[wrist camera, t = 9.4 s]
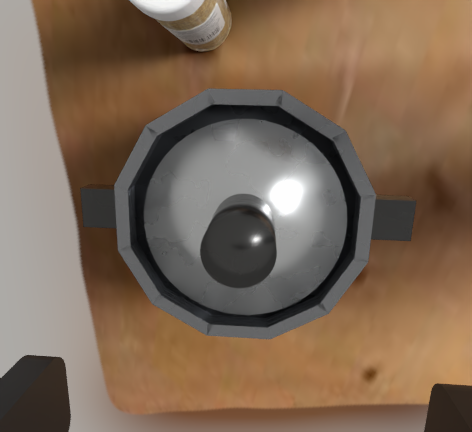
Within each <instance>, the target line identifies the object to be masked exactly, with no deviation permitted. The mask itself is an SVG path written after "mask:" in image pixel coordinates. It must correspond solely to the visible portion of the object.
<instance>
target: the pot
mask: <svg viewBox="0 0 472 432" xmlns="http://www.w3.org/2000/svg"><path fill="white" fill-rule="evenodd" d="M232 119H258V120H265V121H269V122H272V123H276V124H279V125H282V126H284V127H286V128H289V129H291V130H293V131H294V132H296V133H298V134H299V135H301V136H303V137H304V138H305V139H307V140H308V141H309V142H310V143H312V144H313V145H314V146H315V147H316V148H317V149H318V150H319V151H320V152H321V153H322V154H323V155H324V156H325V157H326V159H327V160H328V162H329V163H330V165H331V166H332V167H333V169H334V171H335V173H336V175H337V177H338V179H339V181H340V183H341V186H342V189H343V192H344V196H345V201H346V206H347V228H346V235H345V240H344V244H343V247H342V250H341V253H340V255H339V258H338V260H337V262H336V263H335V265H334V267H333V269H332V270H331V272H330V273H329V274H328V276H327V277H326V279H325V280H324V281H323V282H322V283H321V284H320V285H319V286H318V287H317V288H316V289H315V290H314V291H312V292H311V293H310V294H309V295H307V296H306V297H304V298H303V299H301V300H300V301H298V302H296V303H294V304H292V305H290V306H288V307H286V308H283V309H280V310H277V311H274V312H269V313H264V314H254V315H239V314H231V313H224V312H221V311H217V310H214V309H211V308H208V307H206V306H204V305H201V304H199V303H197V302H196V301H194V300H192V299H190V298H189V297H188V296H186V295H185V294H183V293H182V292H181V291H179V290H178V289H177V288H176V287H175V286H174V285H173V284H172V283H171V282H170V281H169V280H168V278H167V277H166V276H165V275H164V274H163V272H162V271H161V269H160V268H159V266H158V265H157V263H156V261H155V259H154V257H153V255H152V253H151V250H150V247H149V244H148V241H147V238H146V232H145V227H144V206H145V199H146V194H147V189H148V187H149V184H150V181H151V178H152V176H153V174H154V172H155V170H156V169H157V167H158V165H159V164H160V162H161V161H162V159H163V158H164V157H165V155H166V154H167V153H168V152H169V151H170V150H171V149H172V148H173V147H174V146H175V145H176V144H177V143H178V142H180V141H181V140H182V139H184V138H185V137H186V136H188V135H190V134H191V133H193V132H195V131H196V130H198V129H201V128H203V127H205V126H208V125H210V124H214V123H217V122H221V121H225V120H232ZM80 189H81V201H82V213H83V226H84V227H98V228H117V243H118V251H119V253H120V254H121V256H122V258H123V259H124V261H125V262H126V264H127V265H128V267H129V268H130V270H131V272H132V273H133V275H134V276H135V278H136V279H137V281H138V283H139V284H140V286H141V287H142V289H143V290H144V292H145V293H146V295H147V297H148V298H149V300H150V301H151V303H152V304H153V305H155V306H157V307H158V308H160V309H162V310H164V311H165V312H167V313H169V314H171V315H172V316H174V317H176V318H177V319H179V320H181V321H183V322H184V323H186V324H188V325H190V326H191V327H193V328H195V329H197V330H198V331H200V332H202V333H204V334H205V335H208V336H224V337H241V338H258V339H272V338H274V337H276V336H279V335H281V334H283V333H285V332H288V331H290V330H292V329H295V328H297V327H299V326H301V325H304V324H306V323H308V322H311V321H313V320H315V319H317V318H320V317H322V316H324V315H327V314H328V313H329V312H330V311H331V310H332V308H333V307H334V306H335V305H336V303H337V302H338V301H339V299H340V298H341V297H342V295H343V294H344V293H345V292H346V290H347V289H348V288H349V286H350V285H351V284H352V282H353V281H354V280H355V279H356V277H357V276H358V275H359V273H360V272H361V271H362V269H363V268H364V267H365V266H366V264H367V263H368V259H369V251H370V242H371V239H376V240H399V241H411V235H412V228H413V221H414V214H415V207H416V200H414V199H413V198H411V197H409V196H393V195H376V194H375V192H374V190H373V187H372V185H371V183H370V181H369V179H368V177H367V175H366V173H365V171H364V168H363V166H362V164H361V162H360V160H359V158H358V156H357V154H356V151H355V149H354V147H353V145H352V143H351V141H350V139H349V137H348V135H347V132H346V131H345V130H344V129H342V128H341V127H339V126H338V125H336V124H335V123H333V122H332V121H330V120H328V119H327V118H325V117H324V116H322V115H321V114H319V113H318V112H316V111H314V110H313V109H311V108H310V107H308V106H307V105H305V104H304V103H302V102H300V101H299V100H297V99H296V98H294V97H293V96H291V95H290V94H288V93H286V92H285V91H283V90H247V89H207V90H205V91H203V92H201V93H200V94H198V95H196V96H195V97H193V98H191V99H190V100H188V101H186V102H184V103H183V104H181V105H179V106H178V107H176V108H174V109H173V110H171V111H169V112H167V113H166V114H164V115H162V116H161V117H159V118H157V119H156V120H154V121H152V122H150V123H149V124H147V125H146V126H145V128H144V130H143V132H142V133H141V135H140V137H139V139H138V141H137V143H136V145H135V147H134V149H133V151H132V152H131V154H130V156H129V158H128V160H127V162H126V164H125V166H124V168H123V170H122V172H121V173H120V175H119V177H118V179H117V181H116V183H115V185H87V186H85V187H83V188H80Z"/></svg>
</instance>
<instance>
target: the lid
mask: <svg viewBox="0 0 472 432" xmlns="http://www.w3.org/2000/svg"><path fill="white" fill-rule="evenodd" d="M144 227H145V232H146V238H147V241H148V244H149V247H150V250H151V253H152V255H153V257H154V259H155V261H156V263H157V265H158V266H159V268H160V269H161V271H162V272H163V274H164V275H165V276H166V277H167V278H168V280H169V281H170V282H171V283H172V284H173V285H174V286H175V287H176V288H177V289H178V290H179V291H181V292H182V293H183V294H185V295H186V296H188V297H189V298H190V299H192V300H194V301H196V302H197V303H199V304H201V305H204V306H206V307H208V308H211V309H214V310H217V311H221V312H224V313H231V314H239V315H254V314H264V313H269V312H274V311H277V310H280V309H283V308H286V307H288V306H290V305H292V304H294V303H296V302H298V301H300V300H301V299H303V298H304V297H306V296H307V295H309V294H310V293H311V292H312V291H314V290H315V289H316V288H317V287H318V286H319V285H320V284H321V283H322V282H323V281H324V280H325V279H326V277H327V276H328V274H329V273H330V272H331V270H332V269H333V267H334V265H335V263H336V262H337V260H338V258H339V255H340V253H341V250H342V247H343V244H344V240H345V235H346V228H347V206H346V201H345V196H344V192H343V189H342V186H341V183H340V181H339V179H338V177H337V175H336V173H335V171H334V169H333V167H332V166H331V165H330V163H329V162H328V160H327V159H326V157H325V156H324V155H323V154H322V153H321V152H320V151H319V150H318V149H317V148H316V147H315V146H314V145H313V144H312V143H310V142H309V141H308V140H307V139H305V138H304V137H303V136H301V135H299V134H298V133H296V132H294V131H293V130H291V129H289V128H286V127H284V126H282V125H279V124H276V123H272V122H269V121H265V120H258V119H232V120H225V121H221V122H217V123H214V124H210V125H208V126H205V127H203V128H201V129H198V130H196V131H195V132H193V133H191V134H190V135H188V136H186V137H185V138H184V139H182V140H181V141H180V142H178V143H177V144H176V145H175V146H174V147H173V148H172V149H171V150H170V151H169V152H168V153H167V154H166V155H165V157H164V158H163V159H162V161H161V162H160V164H159V165H158V167H157V169H156V170H155V172H154V174H153V176H152V178H151V181H150V184H149V187H148V189H147V194H146V199H145V206H144Z"/></svg>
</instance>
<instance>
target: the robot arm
mask: <svg viewBox="0 0 472 432" xmlns="http://www.w3.org/2000/svg"><path fill="white" fill-rule="evenodd" d="M70 418H71V414H70V404H69V395H68V386H67V376H66V367H65V363H64V360H63V359H62V358H60V357H49V356H48V357H47V356H34V355H26V356H24V357H22V358H21V359H20V360H19V361H18V362H17V363H16V364H15V365H14V366H13V367H12V368H11V369H10V370H9V371H8V372H7V373H6V374H5V375H4V376H3V377H2V378H0V432H68V430H69V426H70ZM424 432H472V386H467V385H452V384H435V385H434V386H433V388H432V391H431V396H430V401H429V408H428V413H427V419H426V425H425V430H424Z"/></svg>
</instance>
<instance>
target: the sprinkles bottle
mask: <svg viewBox="0 0 472 432" xmlns="http://www.w3.org/2000/svg"><path fill="white" fill-rule="evenodd" d="M129 1H130V2H131V3H133V4H134V5H135V6H136V7H137V8H138V9H139V10H141V11H142V12H143V13H145V14H146V15H148V16H150V17H152V18H154V19H156V20H157V21H158V22H159V23H160V24H161V25H162V26H164V27H165V28H166V29H167V30H168V31H170V32H171V33H172V34H173V35H175V36H176V37H177V38H178V39H180V40H181V41H182V42H183V43H184V44H185V45H186V46H187V47H189V48H191V49H193V50H196V51H200V52H203V51H209V50H214V49H216V48H217V47H218V46H220V45H221V44H222V43H223V42H224V41H225V39H226V38H227V36H228V35H229V31H230V29H231V25H232V18H231V11H230V9H229V6H228V3H227V2H226V0H129Z"/></svg>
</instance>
